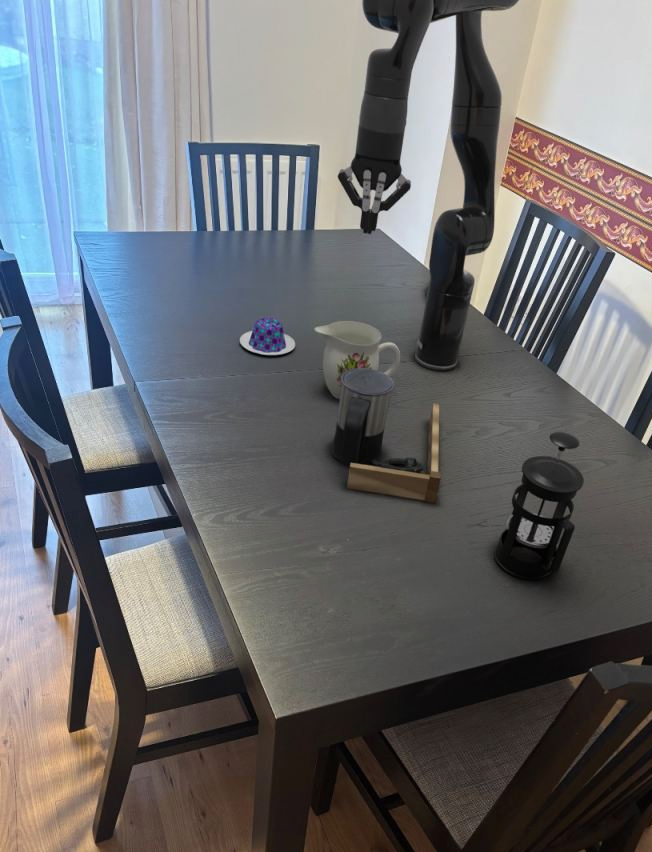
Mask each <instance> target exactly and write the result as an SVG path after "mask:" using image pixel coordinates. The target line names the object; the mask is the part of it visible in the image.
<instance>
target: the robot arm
mask: <svg viewBox="0 0 652 852" xmlns="http://www.w3.org/2000/svg"><path fill="white" fill-rule="evenodd" d="M519 1H520V0H362V1H361V2H362V3H361V6H362V12H363V15H364V17H365V18H364V19H366V21H367V22H368V23H369V24H370V25H371V26H372V27H373V28H375V29H378V30H380V31H385V32H391V33H395V34H397V38H396V40H395V42H394V44H393V45H392V47H390V48H376V49H373V50H372V51H371V52H370V54H369V55H368V60H367V63H366V64H367V66H366V74H365V83H364V91H363V96H362V100H361V104H360V109H359V120H358V127H357V137H356V145H355V153H354V157H353V159H352V160H351V163H350V165H349V166H348V167H346V168H345V169H343V168H342V169H340V170H339V172H338V174H337V180H338V181H339V183H340V184H341V186H342V188H343V190H344V191H345V193H346V195H347V197H348V198H349V200H350V202H351V204H352V205H353V206H354V207H357V208H359V209H360V211H361V214H360V223H359V228H360V230H363V231H362V234H368V235H372V234H373V233H372V232H375V231H376V229H377V225H378V218H379V213H381V212H388V211H390V210H391V209H392V208H393V207H394V206H395V204H396V203H398V202H399V201H400V200H401V199H402V198H403V197H404V196H405V195H406V194H407V193H408V192H409V191H410V190H411V188H412V182H411V179H407V178H406V177H405V175H404V174H403V173H402V171H403V167H402V166H401V159H402V153H403V152H402V150H403V144H404V137H405V131H406V126H407V118H408V110H409V109H408V106H409V105H408V103H409V102H408V101H409V93H410V88H411V80H412V73H413V69H414V66H415V63H416V60H417V57H418V54H419V52H420V50H421V47H422V43H423V41H424V39H425V36H426V34H427V32H428V29H429V27H430V24H433V23H436V22H440V21H443V20H445V19H448V18H449V19H450V18H452V17H455V56H454V75H453V89H452V99H451V111H450V124H449V125H450V126H449V127H450V128H449V132H450V139H451V143H452V146H453V149H454V152H455V155H456V158H457V160H458V162H459V165H460V168H461V170H462V174H463V175H462V176H463V183H464V188H463V189H464V191H463V204H462V207H458V208H452V209H447V210H445V211H443V212H442V213H441V214H440V215H439V216H438V218H437V220H436V222H435V225H434V228H433V233H432V238H431V239H432V240H431V248H430V254H429V261H428V271H429V277H430V278H429V283H428V286H426V289H425V296H426V299H425V305H424V310H423V315H422V320H421V326H420V330H419V336H418V338H417V343H416V344H417V346H416V351H415V353H414V360H415V361H416V363H417V364H419V365H420V366H421V367H424V368H426V369H429V370H433V371H449V370H452V369H455V368H456V367H457V364H458V358H459V353H460V349H461V345H462V340H463V336H464V331H465V326H466V322H467V318H468V314H469V310H470V309H469V308H470V305H471V300H472V295H473V291H474V286H475V283H476V281H475V276H474V275H473V274H472V273H471V272H470V271H468V270H466V269H465V263H466V257H469V256H473V255H478V254H482V253H483V252H486V251H487V249H488V248H489V247H490V246H491V243H492V242H493V238H494V234H495V233H494V232H495V220H496V219H495V217H496V215H495V214H496V213H495V211H496V210H495V209H496V208H495V205H496V204H495V203H496V202H495V201H496V200H495V194H496V193H495V190H496V189H495V185H496V184H495V183H496V167H497V152H498V139H499V131H500V124H501V113H502V103H503V95H502V89H501V87H500V86H501V85H500V83H499V80H498V79H497V76H496V73H495V71H494V69H493V67H492V64H491V62H490V60H489V58H488V55H487V53H486V49H485V46H484V41H483V30H482V13H483V12H499V11H506V10H509V9H512V8H513V7H515V6H516V5H517V4H518V3H519ZM353 175H354V176H353ZM354 177H355V180H356V181H357V183H358V185H359V186H360V187H361V189H362V197H361V196H360V193H359V192H358V190H357V188H356V187H355V185H354V183H353V179H354ZM396 181H397V182H396ZM395 182H396V183H395ZM394 183H395V184H396V185H395V188H396V189H395V190H393V192H391V194H390V195H389V196H388V197H387V198H386V199H385V200H382V199H383V193H384V192H386V191H388V190H389V189H390V187H391V186H392V185H393V184H394ZM372 191H375V192H374V198H373V202H372V201H371V200H372V199H371V198H372ZM371 202H372V206H371Z"/></svg>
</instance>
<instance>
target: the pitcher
mask: <svg viewBox="0 0 652 852" xmlns="http://www.w3.org/2000/svg"><path fill="white" fill-rule="evenodd" d="M313 330H314V331H315V333H317V334H319V335H320V336H321V337H322V338H323V340H324V343H325V348H324V352H323V357H322V372H323V378H324V381H325V384H326V387H327V389H328V390H329V392H330V394H331V395H332V396H333V398H336V399H338V400H340V395H341V388H342V381H341V376H342V374H343V373H344V372H345V371H348V370H350V369H355V368H367V369H372V370H376V371H379V367H380V366H379V365H380V353H381V352H383V351H385V350H390V351H392V353H393V362H392V364H391V366H390V367H389V368H388V369H387V370H386V371H384V372H383V373H384V374H386V375H387V376H389V377H390V378H392V376H393V375H394V374H395V373H396V372H397V370H398V368H399V365H400V361H401V352H400V349H399V347H398V346H397V344H395V343H394V342H391V341H389V342H383V343H381V341H382V336H383V335H382V333H381V331H380V330H379V329H377V328H376V327H375V326H373V325H370V324H367V323H364V322H361V321H354V320H339V321H334V322H331V323H329V324H326V325H320V326H319V325H318V326H316V327H314V329H313Z"/></svg>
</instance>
